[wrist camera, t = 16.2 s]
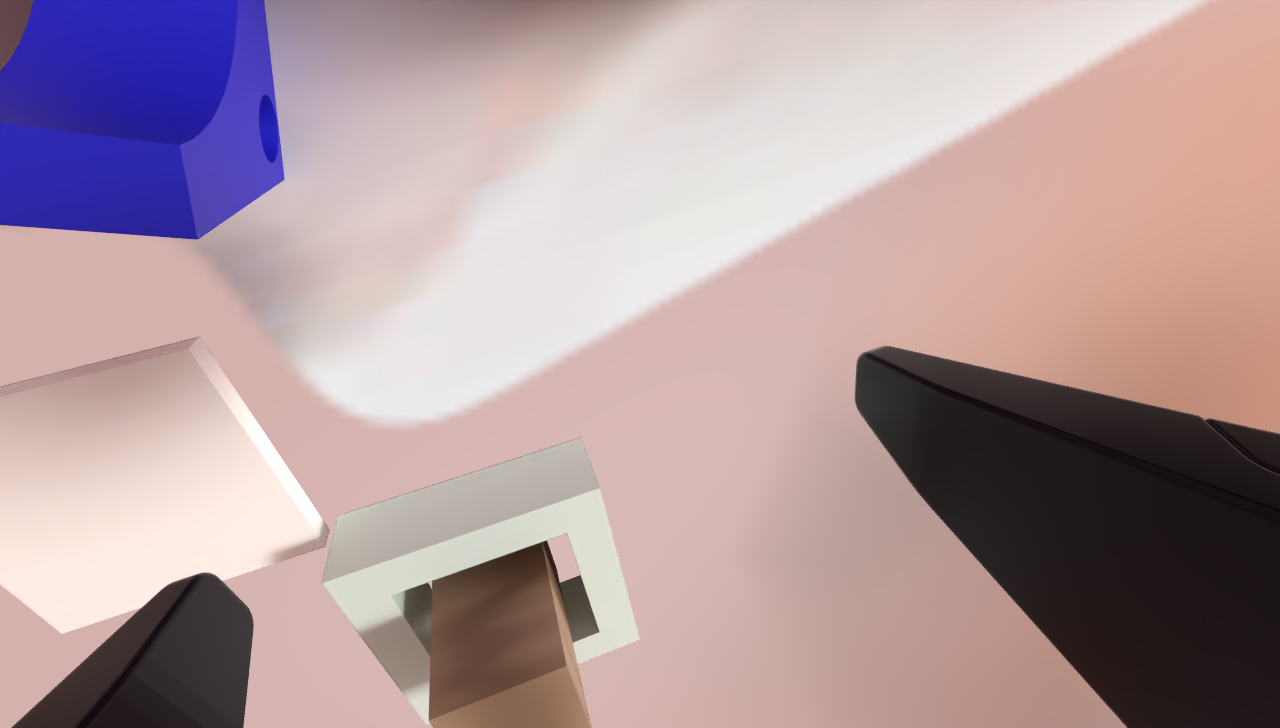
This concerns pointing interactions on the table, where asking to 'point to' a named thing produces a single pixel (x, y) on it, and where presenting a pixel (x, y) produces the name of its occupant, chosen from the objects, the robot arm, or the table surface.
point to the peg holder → (476, 556)
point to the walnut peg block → (504, 647)
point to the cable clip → (138, 116)
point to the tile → (138, 485)
